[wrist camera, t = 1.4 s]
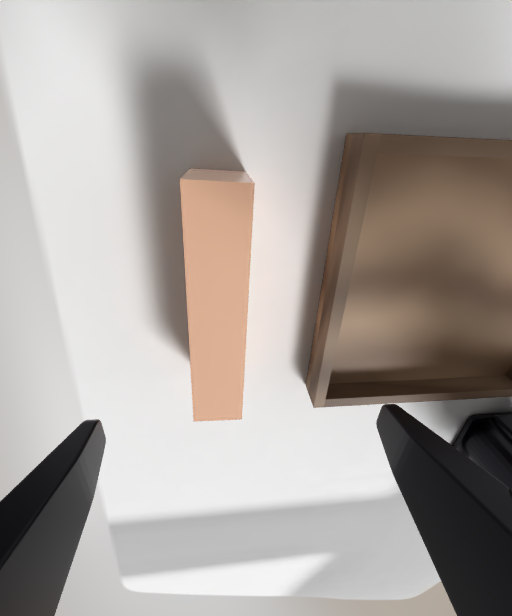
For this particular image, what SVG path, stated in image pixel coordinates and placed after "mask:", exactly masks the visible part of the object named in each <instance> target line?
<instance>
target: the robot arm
mask: <svg viewBox="0 0 512 616" xmlns="http://www.w3.org/2000/svg"><path fill="white" fill-rule="evenodd" d="M377 429H378V432H379V435H380V438H381V441H382V444H383V447H384V450H385V453H386V456H387V458H388V461H389V464H390V467H391V470H392V473H393V475H394V477H395V480H396V482H397V484H398V486H399V489H400V491H401V493H402V495H403V497H404V500H405V502H406V504H407V506H408V508H409V511H410V513H411V515H412V517H413V519H414V522H415V524H416V526H417V528H418V530H419V533H420V535H421V537H422V539H423V541H424V544H425V546H426V548H427V550H428V552H429V555H430V557H431V559H432V561H433V564H434V566H435V568H436V570H437V572H438V575H439V577H440V579H441V581H442V583H443V586H444V588H445V590H446V592H447V594H448V597H449V599H450V601H451V603H452V605H453V607H454V610H455V612H456V614H457V616H512V413H501V414H486V415H473V416H471V417H470V418H469V419H468V421H467V423H466V424H465V426H464V428H463V430H462V432H461V433H460V435H459V437H458V439H457V441H456V442H455V444H454V446H452V445H451V444H449V443H448V442H446V441H445V440H444V439H442V438H441V437H440V436H438V435H437V434H436V433H434V432H433V431H432V430H430V429H429V428H428V427H426V426H425V425H423V424H422V423H421V422H419V421H418V420H417V419H415V418H414V417H413V416H411V415H410V414H409V413H407V412H406V411H404V410H403V409H402V408H400V407H399V406H398V405H396V404H385V405H383V406H382V408H381V410H380V413H379V416H378V419H377ZM105 443H106V438H105V434H104V430H103V427H102V423H101V421H100V420H86V421H84V422H82V423H81V424H80V425H79V426H78V427H77V428H76V429H75V430H74V431H73V432H72V433H71V434H70V435H69V436H68V437H67V438H66V439H65V440H64V441H63V442H62V443H61V444H60V445H58V447H57V448H55V449H54V450H53V451H52V452H51V453H50V454H49V455H48V456H47V457H46V458H45V459H44V460H43V461H42V462H41V463H40V464H39V465H38V466H37V467H36V468H35V469H34V470H33V471H32V472H30V473H29V475H27V476H26V478H24V479H23V480H22V481H21V482H20V483H19V484H18V485H17V486H16V487H15V488H14V489H13V490H12V491H11V492H10V493H9V494H8V495H7V496H6V497H5V498H4V499H3V500H1V501H0V616H54V615H55V612H56V609H57V606H58V603H59V600H60V597H61V594H62V591H63V588H64V585H65V582H66V579H67V576H68V573H69V570H70V567H71V564H72V561H73V558H74V555H75V552H76V549H77V546H78V543H79V540H80V537H81V534H82V531H83V528H84V525H85V522H86V519H87V516H88V513H89V510H90V507H91V504H92V501H93V497H94V493H95V489H96V485H97V480H98V476H99V471H100V466H101V462H102V457H103V453H104V448H105Z"/></svg>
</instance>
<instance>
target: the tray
mask: <svg viewBox="0 0 512 616" xmlns="http://www.w3.org/2000/svg"><path fill="white" fill-rule="evenodd" d="M306 387H307V390H308V393H309V396H310V399H311V402H312V404H313V407H314V408H316V407H334V406H352V405H369V404H387V403H405V402H422V401H440V400H458V399H475V398H493V397H511V396H512V140H494V139H475V138H455V137H435V136H415V135H396V134H376V133H346V139H345V145H344V151H343V158H342V164H341V170H340V176H339V182H338V189H337V195H336V201H335V207H334V213H333V219H332V226H331V232H330V238H329V244H328V250H327V257H326V263H325V269H324V275H323V281H322V288H321V294H320V300H319V306H318V312H317V318H316V325H315V331H314V337H313V343H312V349H311V356H310V362H309V368H308V374H307V380H306Z"/></svg>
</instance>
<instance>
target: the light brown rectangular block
mask: <svg viewBox="0 0 512 616" xmlns="http://www.w3.org/2000/svg"><path fill="white" fill-rule="evenodd" d="M180 191H181V209H182V226H183V244H184V261H185V278H186V296H187V313H188V331H189V348H190V365H191V383H192V400H193V418H194V421H213V420H236V419H242V405H243V387H244V368H245V349H246V331H247V312H248V294H249V275H250V257H251V238H252V220H253V201H254V182H253V180H252V179H251V178H250V177H249V175H248V174H247V173H246V172H245V171H228V170H210V169H192V168H190V169H189V170H188V171H187V172H186V173H185V174H184V175H183V176H182V177H181V178H180Z"/></svg>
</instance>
